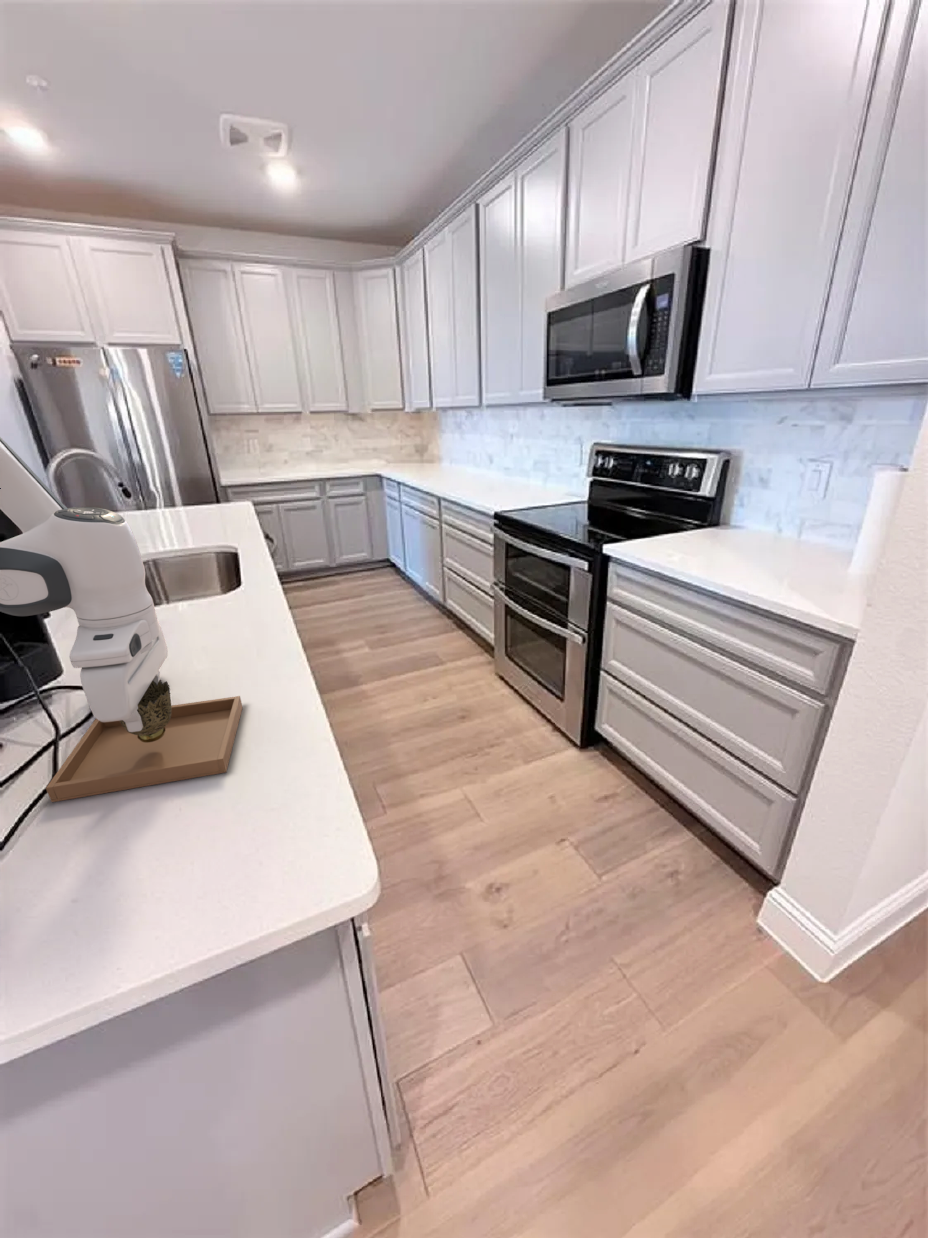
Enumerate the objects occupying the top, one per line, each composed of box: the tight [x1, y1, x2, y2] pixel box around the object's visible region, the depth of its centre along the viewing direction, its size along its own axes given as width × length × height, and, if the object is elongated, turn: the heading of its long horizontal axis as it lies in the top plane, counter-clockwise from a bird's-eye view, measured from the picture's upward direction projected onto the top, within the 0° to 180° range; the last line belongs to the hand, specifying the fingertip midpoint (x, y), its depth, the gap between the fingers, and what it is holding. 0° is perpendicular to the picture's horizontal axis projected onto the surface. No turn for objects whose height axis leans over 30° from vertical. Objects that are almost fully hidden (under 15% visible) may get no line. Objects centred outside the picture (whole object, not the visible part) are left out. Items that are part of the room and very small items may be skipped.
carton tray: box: [45, 695, 243, 803], centre depth 77 cm, size 22×18×2 cm
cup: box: [120, 679, 172, 743], centre depth 75 cm, size 8×7×8 cm
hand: (146, 713), depth 75 cm, fingers closed on cup, 7 cm apart
